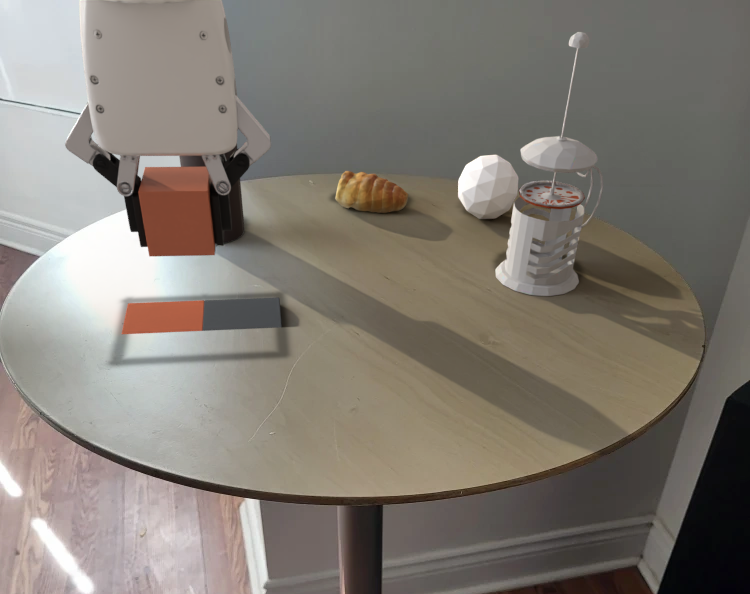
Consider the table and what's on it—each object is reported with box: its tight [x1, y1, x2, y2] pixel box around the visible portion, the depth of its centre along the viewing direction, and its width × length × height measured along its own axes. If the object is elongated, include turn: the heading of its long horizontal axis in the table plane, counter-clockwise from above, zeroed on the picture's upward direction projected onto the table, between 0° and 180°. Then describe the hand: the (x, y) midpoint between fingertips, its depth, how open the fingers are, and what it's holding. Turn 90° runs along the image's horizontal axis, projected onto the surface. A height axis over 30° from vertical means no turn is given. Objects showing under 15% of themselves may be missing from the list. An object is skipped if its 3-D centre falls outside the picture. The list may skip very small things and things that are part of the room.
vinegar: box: [178, 143, 246, 244], centre depth 90 cm, size 7×7×20 cm
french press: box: [494, 31, 604, 297], centre depth 83 cm, size 10×12×25 cm
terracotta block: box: [138, 166, 217, 257], centre depth 60 cm, size 5×5×5 cm
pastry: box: [334, 170, 409, 214], centre depth 104 cm, size 9×7×4 cm
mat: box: [121, 297, 283, 335], centre depth 79 cm, size 16×12×1 cm
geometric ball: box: [457, 154, 519, 220], centre depth 101 cm, size 8×8×8 cm
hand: (183, 236), depth 62 cm, fingers closed on terracotta block, 5 cm apart
